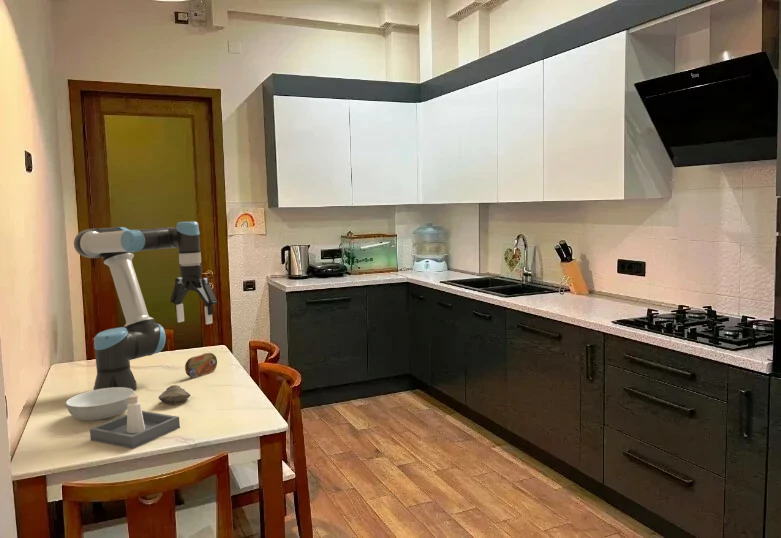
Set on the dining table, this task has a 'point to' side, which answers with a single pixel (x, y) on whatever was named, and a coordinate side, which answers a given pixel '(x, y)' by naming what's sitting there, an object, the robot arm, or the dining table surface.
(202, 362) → the tin
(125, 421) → the parts tray
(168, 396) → the fossilized seashell
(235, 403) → the dining table surface
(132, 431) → the salt shaker
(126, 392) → the serving bowl
